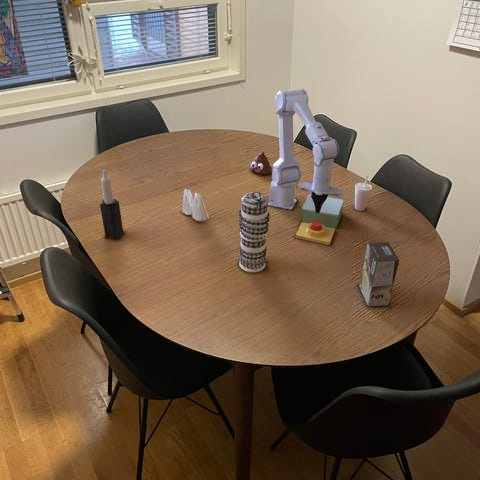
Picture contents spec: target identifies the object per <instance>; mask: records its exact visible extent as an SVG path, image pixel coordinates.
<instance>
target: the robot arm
mask: <svg viewBox="0 0 480 480" xmlns="http://www.w3.org/2000/svg"><path fill="white" fill-rule="evenodd" d="M274 105H275V108H274V109H275V114H276V115H277V116H278V140H279V143H278V145H279V159H277V160H276V161H275V162H274V163H273V164H272V171H271V178H272V181H271V183H270V185H269V192H268V193H269V194H268V195H269V196H268V201H269V202H268V206H271V207H275V208H281V209H286V210H293V209H294V207H295V205H296V203H297V201H298V199H297V198H295V196H296V195H295V194H296V185H298V191H306V192H311V193H310V194H311V198H312V200H313V202H314V205H315V212H316V213H320V211H321V207H322V205H323V203H324V202H325V201H326V199H327V197H329V196H333V197H338V199H342V198H343V196H344V189H343V190H342V189H339V188H336V187H334V186H331V182H332V176H333V168H334V161H335V158H337V157H338V156H339V154H340V146H339V143H338V141H337V140H336V139H335V138H333V137H331V136H329V134H328V132H327V131H326V130H325V129H326V128H324V126H323V124H322V123H321V122H319V121H316V119H315V117H314V115H313V112H312V110H311V107H310V106H309V95H308V92H307V91H306V90H305V89H304V88H297V89H291V90H280V91H278V92H277V93H276V95H275V97H274ZM295 114H296V115H297V117H298V118H299V119H300V120H301V122H302V123H303V125H304V126H305V135H306V136H307V138H308V140H309V143H311V145H312V154H313V163H314V169H313V179H312V182H311V183H310V182H300V183H299V184H298V182H299V181H300V180H301V178H302V170H301V164H300V161H298V160H297V159H295V149H294V147H295V146H294V116H295Z"/></svg>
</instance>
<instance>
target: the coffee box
mask: <svg viewBox="0 0 480 480" xmlns="http://www.w3.org/2000/svg"><path fill="white" fill-rule="evenodd" d="M399 265H400V259H399V257H398V255H397V254H396V252H395V251H394V249H393V247H392V246H391V244H390V243H389V241H374V242H367V245H366V251H365V255H364V261H363V266H362V271H361V277H360V281H359V289H360V291H361V294H362V296H363V299H364V301H365V303H366V305H367V306H368V307H378V306H389V303H390V299H391V295H392V291H393V288H394V285H395V284H394V283H395V281H396V275H397V272H398V268H399Z"/></svg>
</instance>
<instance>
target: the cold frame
mask: <svg viewBox="0 0 480 480" xmlns="http://www.w3.org/2000/svg"><path fill="white" fill-rule="evenodd" d="M343 208H344V203H343V204H342V207H341V210H340V213H339V215H338V216H333V215H327V214H322V213H316V212H312V211H307V210H303V211H302V222H304V223H309V224H310V223H312V222H313V221H318V222H321V223H322V225H324V226H325V227H328V228H333V229H335V230H337V228H338V225H339V222H340V219H341V217H342V214H343ZM302 222H301V223H302Z"/></svg>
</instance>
